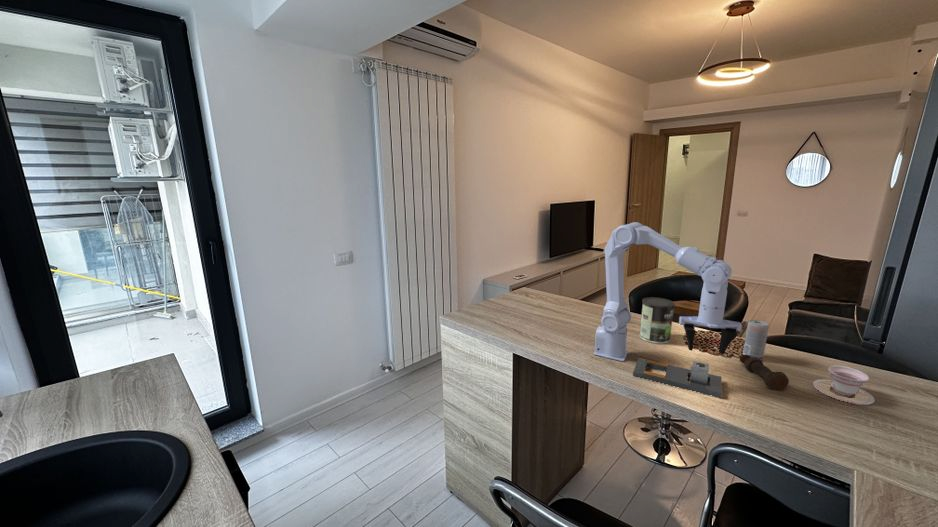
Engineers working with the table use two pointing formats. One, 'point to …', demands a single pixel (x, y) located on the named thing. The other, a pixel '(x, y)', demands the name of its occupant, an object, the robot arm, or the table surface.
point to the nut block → (699, 373)
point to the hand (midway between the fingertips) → (705, 350)
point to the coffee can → (656, 320)
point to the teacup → (846, 382)
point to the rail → (677, 377)
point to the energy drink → (756, 338)
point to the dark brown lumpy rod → (765, 373)
